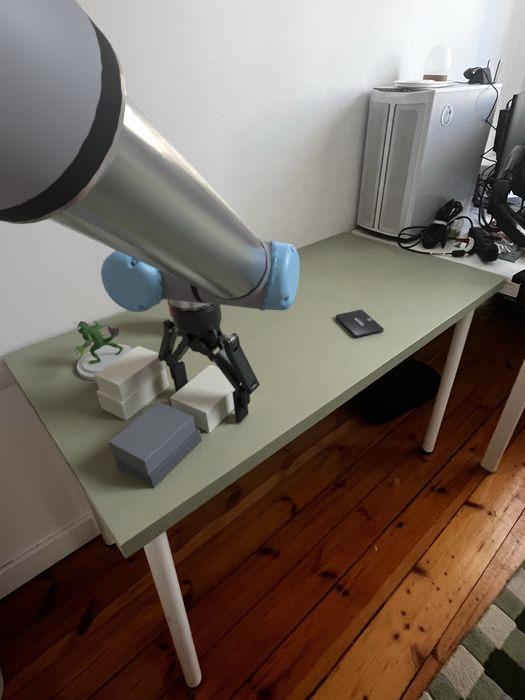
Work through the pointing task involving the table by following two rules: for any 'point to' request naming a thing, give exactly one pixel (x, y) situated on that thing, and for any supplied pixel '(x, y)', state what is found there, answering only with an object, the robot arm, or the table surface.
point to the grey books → (155, 443)
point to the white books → (131, 382)
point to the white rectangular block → (206, 398)
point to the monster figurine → (98, 350)
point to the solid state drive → (359, 323)
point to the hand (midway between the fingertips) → (211, 405)
